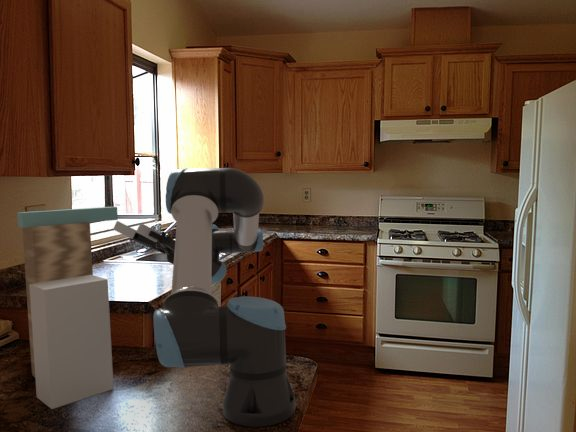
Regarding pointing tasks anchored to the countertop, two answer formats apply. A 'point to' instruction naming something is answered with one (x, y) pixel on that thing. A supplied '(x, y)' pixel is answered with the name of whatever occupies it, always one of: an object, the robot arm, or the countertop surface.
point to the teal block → (66, 216)
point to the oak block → (55, 258)
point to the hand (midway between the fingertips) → (126, 226)
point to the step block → (71, 339)
